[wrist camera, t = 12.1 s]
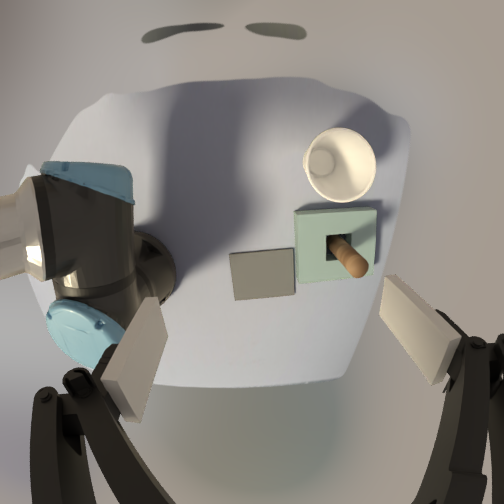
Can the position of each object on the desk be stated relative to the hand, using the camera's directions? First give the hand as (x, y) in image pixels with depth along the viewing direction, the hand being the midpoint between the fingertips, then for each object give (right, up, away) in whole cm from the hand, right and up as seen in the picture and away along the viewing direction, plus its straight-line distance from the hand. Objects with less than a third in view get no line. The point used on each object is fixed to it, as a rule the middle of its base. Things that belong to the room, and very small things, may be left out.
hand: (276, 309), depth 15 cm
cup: (+10, +18, +28) cm, 35 cm away
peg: (+13, +5, +33) cm, 36 cm away
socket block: (+13, +5, +33) cm, 36 cm away
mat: (+1, -1, +34) cm, 34 cm away
